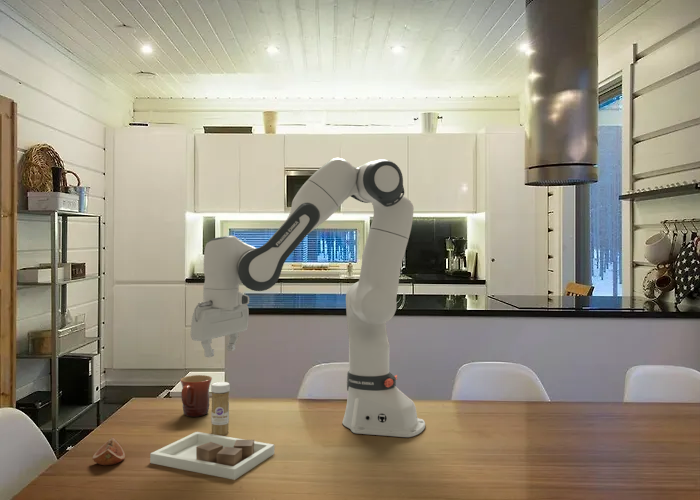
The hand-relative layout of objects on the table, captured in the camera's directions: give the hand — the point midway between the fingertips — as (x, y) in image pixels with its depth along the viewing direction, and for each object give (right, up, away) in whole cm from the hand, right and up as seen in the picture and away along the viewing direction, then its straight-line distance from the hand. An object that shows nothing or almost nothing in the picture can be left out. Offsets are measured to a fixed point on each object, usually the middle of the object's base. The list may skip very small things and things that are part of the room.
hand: (220, 353), depth 147 cm
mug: (-12, -21, +17) cm, 29 cm away
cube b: (+2, -21, -21) cm, 29 cm away
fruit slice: (-20, -21, -19) cm, 35 cm away
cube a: (+7, -21, -23) cm, 32 cm away
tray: (+2, -21, -17) cm, 27 cm away
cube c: (+9, -21, -18) cm, 29 cm away
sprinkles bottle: (0, -21, 0) cm, 21 cm away
